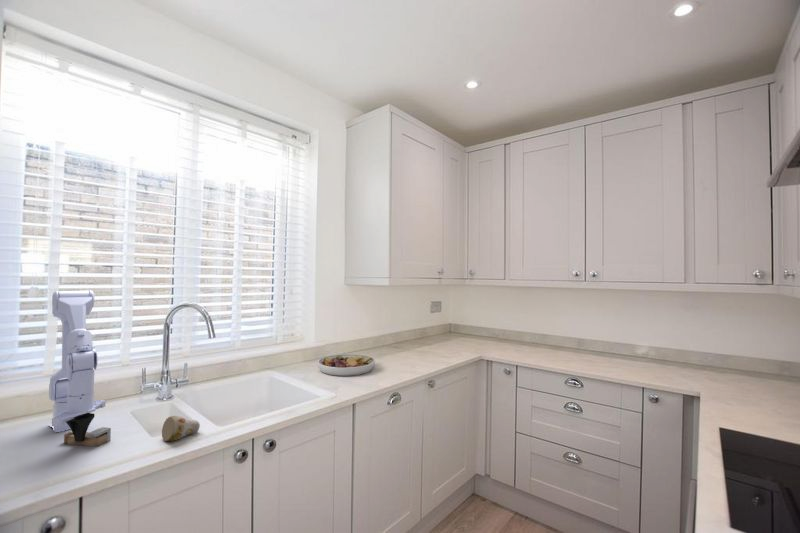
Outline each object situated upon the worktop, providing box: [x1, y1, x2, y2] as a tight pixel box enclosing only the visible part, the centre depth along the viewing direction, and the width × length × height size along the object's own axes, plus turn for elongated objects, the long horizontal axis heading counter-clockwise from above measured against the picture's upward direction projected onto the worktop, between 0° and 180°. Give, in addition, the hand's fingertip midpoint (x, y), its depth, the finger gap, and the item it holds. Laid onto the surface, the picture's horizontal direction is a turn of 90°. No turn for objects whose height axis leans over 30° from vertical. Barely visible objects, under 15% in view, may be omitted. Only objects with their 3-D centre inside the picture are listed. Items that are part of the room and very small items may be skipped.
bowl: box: [317, 354, 376, 377], centre depth 195 cm, size 30×30×8 cm
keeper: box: [86, 426, 112, 443], centre depth 108 cm, size 3×5×4 cm, turn 169°
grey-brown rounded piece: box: [161, 415, 201, 442], centre depth 113 cm, size 8×10×10 cm
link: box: [63, 429, 108, 447], centre depth 108 cm, size 12×3×3 cm, turn 83°
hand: (79, 441), depth 106 cm, fingers closed
